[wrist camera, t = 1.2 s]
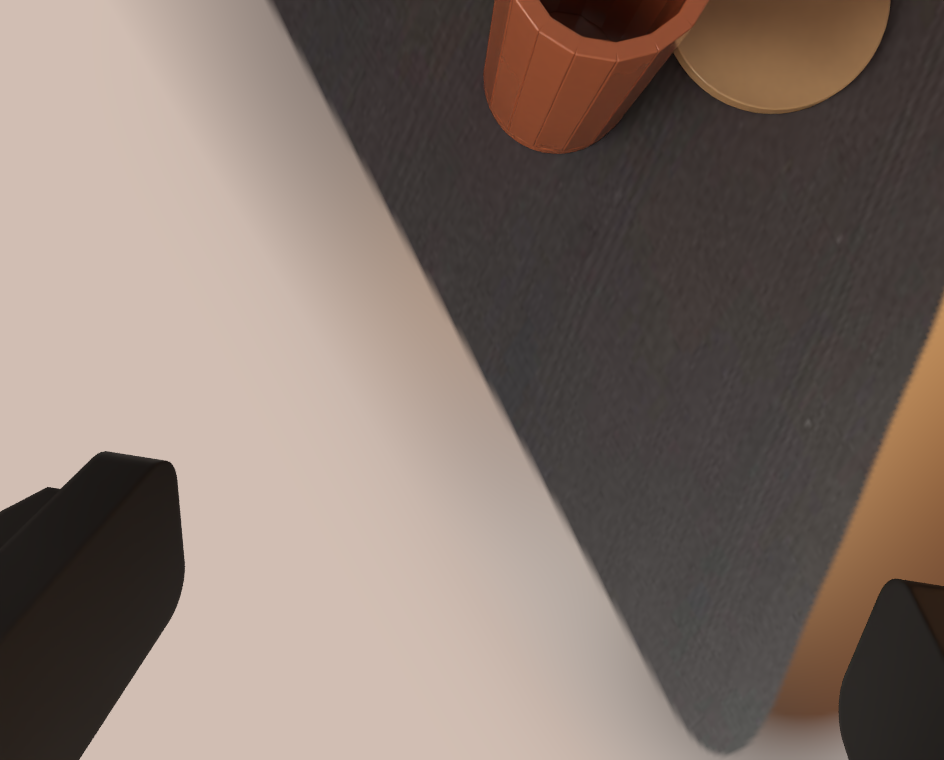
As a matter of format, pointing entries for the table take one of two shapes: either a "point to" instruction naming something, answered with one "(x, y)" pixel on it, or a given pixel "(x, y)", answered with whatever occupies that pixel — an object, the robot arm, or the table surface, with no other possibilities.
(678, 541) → the table surface
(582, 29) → the pot
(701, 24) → the trivet
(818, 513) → the table surface
